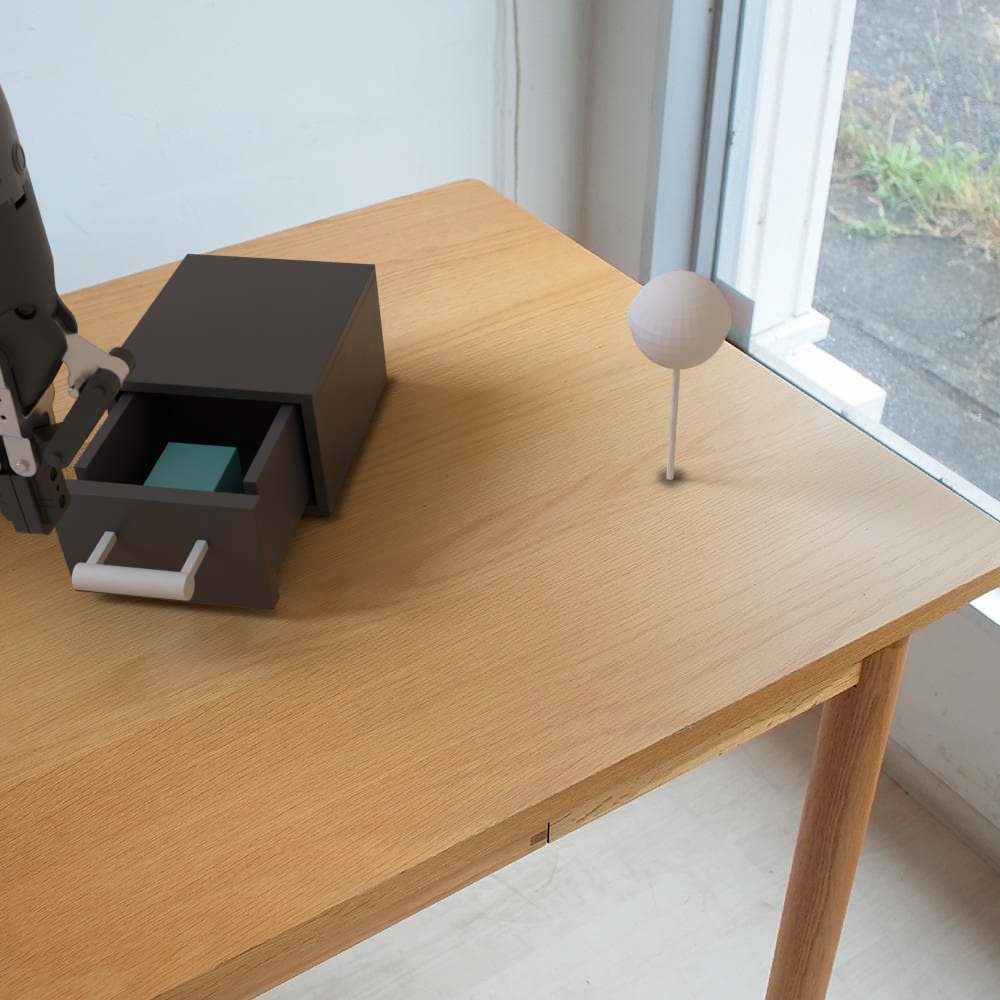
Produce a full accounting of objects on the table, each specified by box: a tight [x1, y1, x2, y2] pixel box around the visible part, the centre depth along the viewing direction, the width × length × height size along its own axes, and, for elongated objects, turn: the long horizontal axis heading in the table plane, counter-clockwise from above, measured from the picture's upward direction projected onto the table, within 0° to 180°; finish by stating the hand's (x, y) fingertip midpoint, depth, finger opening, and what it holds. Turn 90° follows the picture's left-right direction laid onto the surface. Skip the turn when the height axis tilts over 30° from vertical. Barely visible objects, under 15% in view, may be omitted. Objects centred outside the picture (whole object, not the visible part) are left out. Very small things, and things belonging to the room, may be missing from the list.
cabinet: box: [106, 253, 388, 517], centre depth 89 cm, size 16×14×10 cm
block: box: [143, 442, 245, 494], centre depth 80 cm, size 4×4×4 cm
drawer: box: [54, 391, 314, 612], centre depth 79 cm, size 19×12×8 cm, turn 170°
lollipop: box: [627, 269, 733, 481], centre depth 82 cm, size 6×6×15 cm
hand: (42, 522), depth 62 cm, fingers closed
